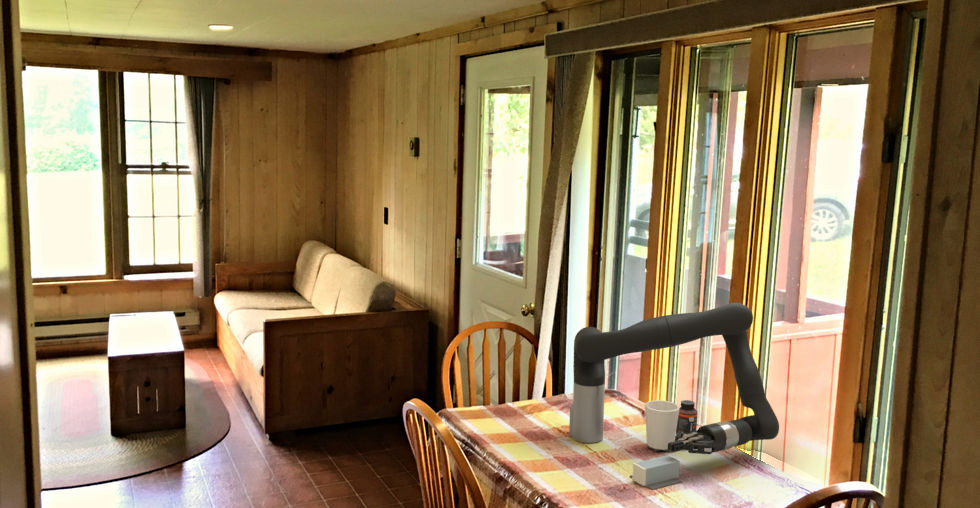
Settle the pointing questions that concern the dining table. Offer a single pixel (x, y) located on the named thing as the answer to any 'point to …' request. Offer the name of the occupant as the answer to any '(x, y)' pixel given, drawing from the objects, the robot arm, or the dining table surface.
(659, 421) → the cup
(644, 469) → the block
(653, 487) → the mat
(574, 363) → the robot arm
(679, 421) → the supplement bottle
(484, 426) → the dining table surface
